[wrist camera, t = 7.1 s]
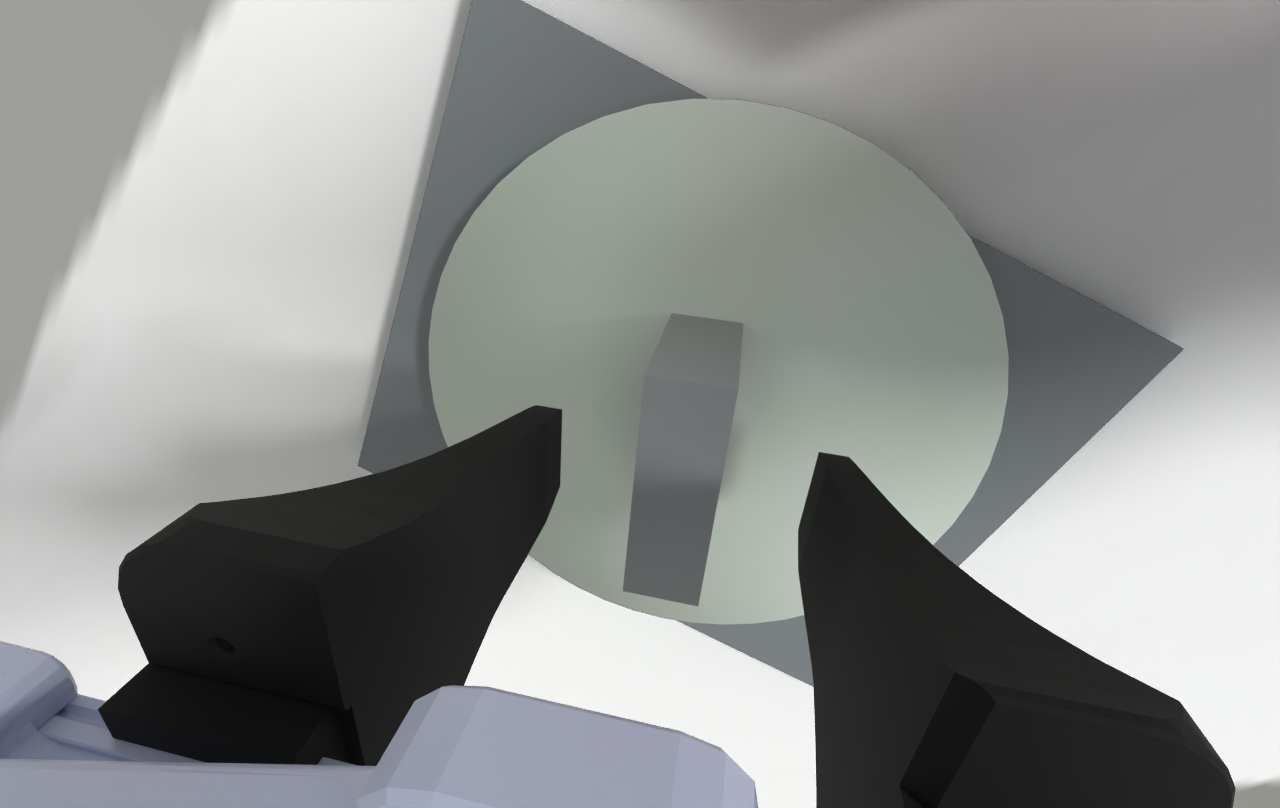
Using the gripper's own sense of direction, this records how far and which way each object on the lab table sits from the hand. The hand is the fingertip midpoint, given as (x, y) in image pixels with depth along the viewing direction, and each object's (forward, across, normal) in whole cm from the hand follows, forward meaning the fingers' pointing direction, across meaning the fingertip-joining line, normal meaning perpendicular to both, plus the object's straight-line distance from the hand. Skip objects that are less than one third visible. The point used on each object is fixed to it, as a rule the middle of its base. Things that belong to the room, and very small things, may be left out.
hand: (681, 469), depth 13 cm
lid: (+2, 0, 0) cm, 2 cm away
